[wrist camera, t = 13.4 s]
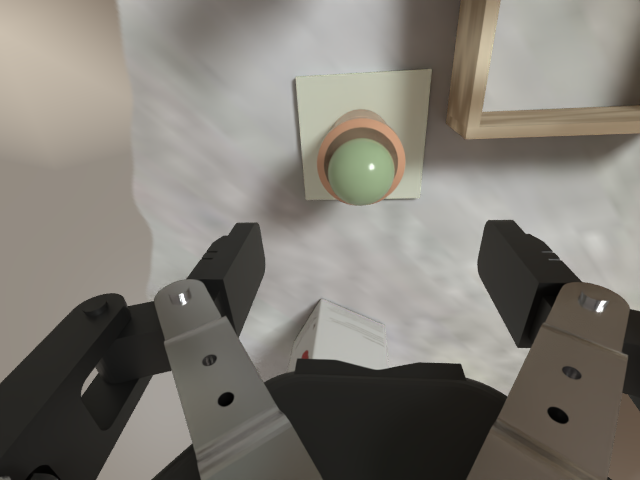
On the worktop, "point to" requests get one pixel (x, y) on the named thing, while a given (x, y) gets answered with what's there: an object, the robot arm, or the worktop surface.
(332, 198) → the sage mat
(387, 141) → the terracotta pot
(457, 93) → the wooden shadow box
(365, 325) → the supplement box
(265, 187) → the worktop surface
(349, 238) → the worktop surface
